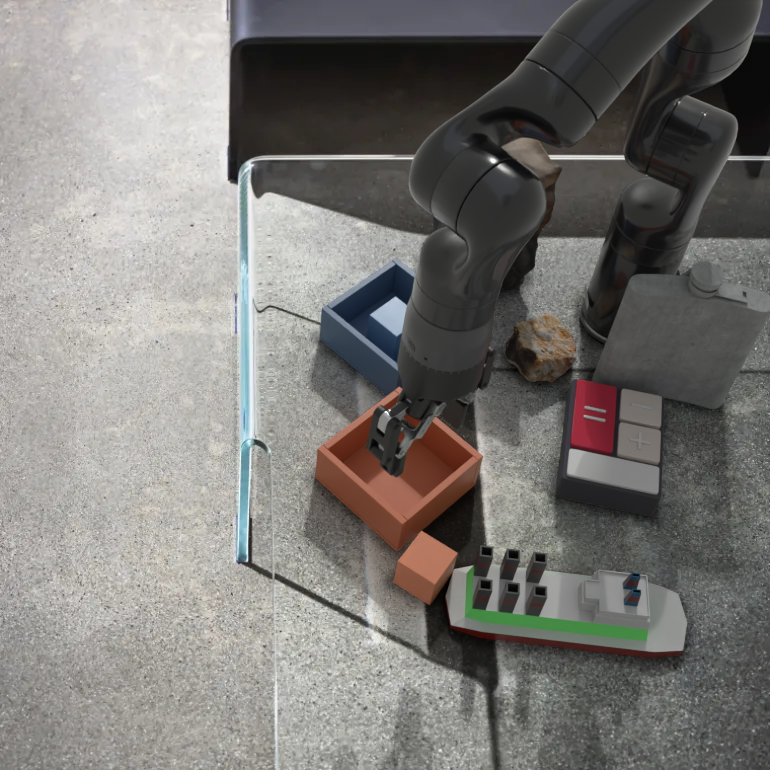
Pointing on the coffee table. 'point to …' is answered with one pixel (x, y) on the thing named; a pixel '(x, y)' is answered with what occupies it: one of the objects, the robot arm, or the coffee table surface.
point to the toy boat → (565, 607)
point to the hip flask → (682, 335)
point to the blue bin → (366, 323)
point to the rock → (541, 348)
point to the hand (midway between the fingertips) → (422, 445)
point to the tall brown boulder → (548, 173)
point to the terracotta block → (425, 567)
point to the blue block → (387, 327)
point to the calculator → (612, 448)
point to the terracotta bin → (403, 493)
